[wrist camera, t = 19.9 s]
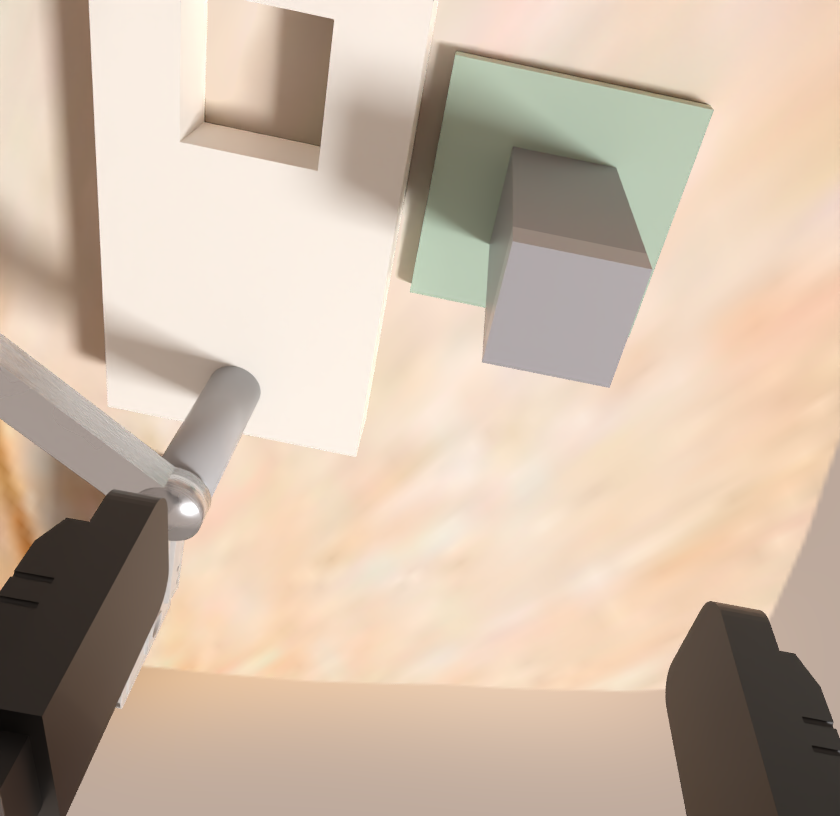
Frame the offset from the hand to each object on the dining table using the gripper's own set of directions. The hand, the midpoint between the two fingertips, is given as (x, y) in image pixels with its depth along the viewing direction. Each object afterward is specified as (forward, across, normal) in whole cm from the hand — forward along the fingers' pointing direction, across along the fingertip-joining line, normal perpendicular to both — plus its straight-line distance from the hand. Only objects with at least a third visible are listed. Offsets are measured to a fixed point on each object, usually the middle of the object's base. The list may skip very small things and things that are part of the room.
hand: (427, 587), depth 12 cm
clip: (+14, +14, +9) cm, 22 cm away
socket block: (+25, +8, +5) cm, 27 cm away
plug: (+24, -4, +2) cm, 24 cm away
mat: (+25, -4, +3) cm, 25 cm away
